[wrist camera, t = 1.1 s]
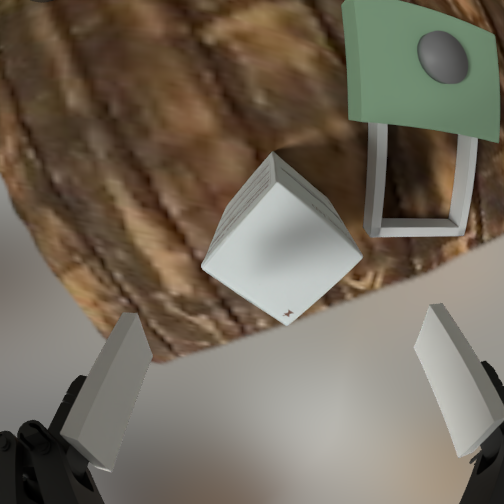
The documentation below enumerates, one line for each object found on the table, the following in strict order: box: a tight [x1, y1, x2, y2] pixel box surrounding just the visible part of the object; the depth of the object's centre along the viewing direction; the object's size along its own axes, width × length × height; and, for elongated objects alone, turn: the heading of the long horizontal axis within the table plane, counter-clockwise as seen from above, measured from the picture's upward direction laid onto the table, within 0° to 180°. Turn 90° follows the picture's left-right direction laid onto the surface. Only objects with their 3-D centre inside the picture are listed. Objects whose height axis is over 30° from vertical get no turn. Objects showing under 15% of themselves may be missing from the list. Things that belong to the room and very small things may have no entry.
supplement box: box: [201, 152, 363, 326], centre depth 23 cm, size 7×7×13 cm
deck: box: [341, 0, 500, 237], centre depth 22 cm, size 23×16×5 cm
